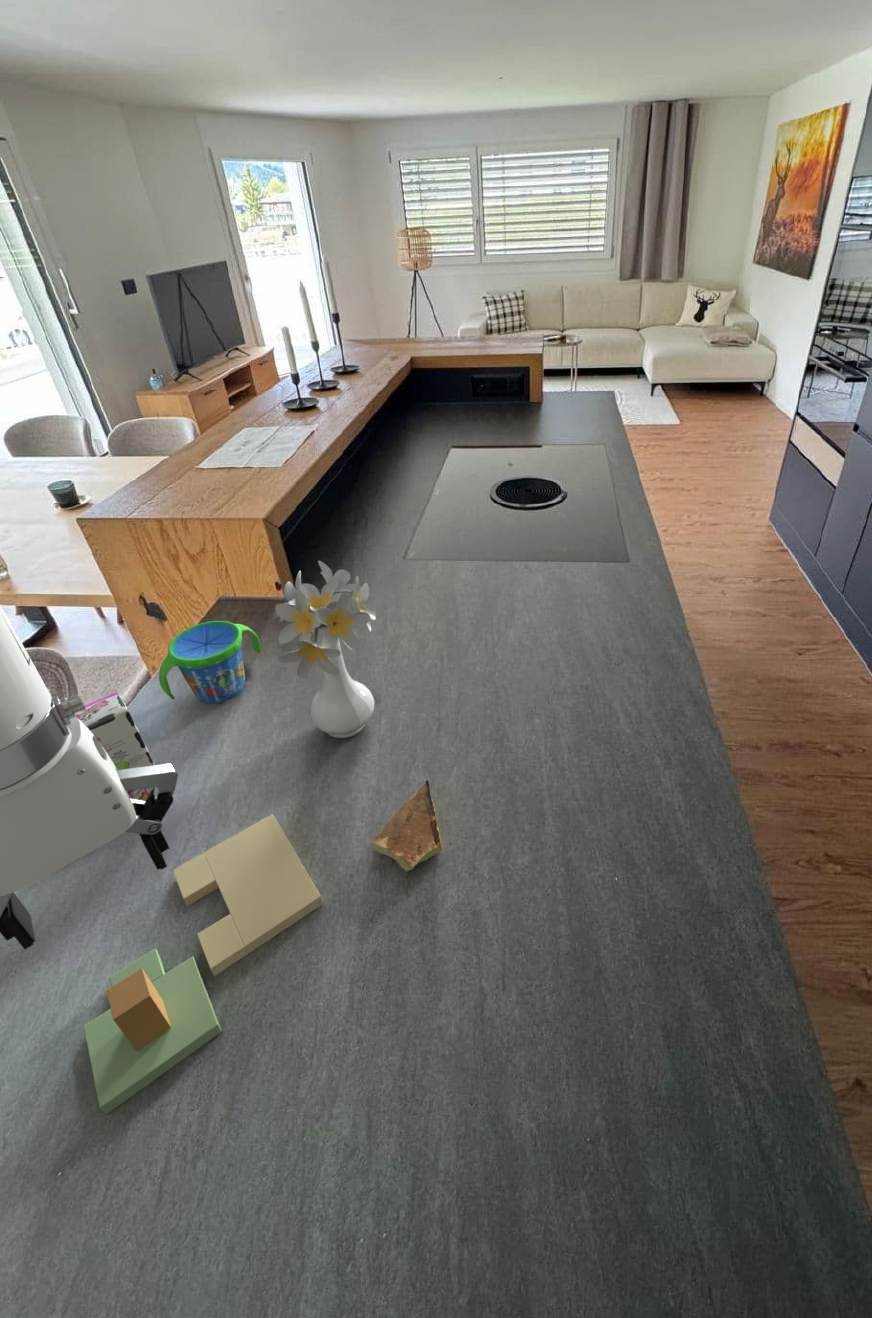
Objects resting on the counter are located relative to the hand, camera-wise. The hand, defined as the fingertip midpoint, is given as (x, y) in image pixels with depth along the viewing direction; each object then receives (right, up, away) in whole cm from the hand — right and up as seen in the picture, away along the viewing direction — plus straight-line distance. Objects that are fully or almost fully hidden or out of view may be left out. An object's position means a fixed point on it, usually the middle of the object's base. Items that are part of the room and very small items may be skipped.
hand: (96, 893), depth 51 cm
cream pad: (+5, -10, +20) cm, 23 cm away
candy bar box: (-16, -5, +30) cm, 34 cm away
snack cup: (-11, +8, +50) cm, 52 cm away
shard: (+22, -6, +26) cm, 34 cm away
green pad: (-1, -17, +9) cm, 19 cm away
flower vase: (+11, +4, +42) cm, 43 cm away
